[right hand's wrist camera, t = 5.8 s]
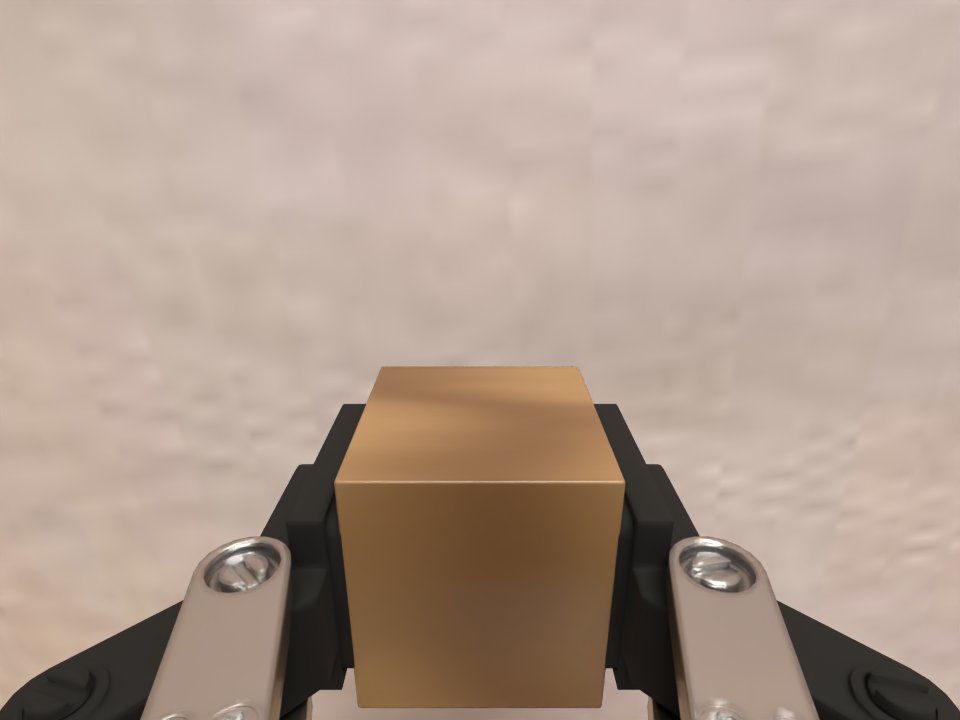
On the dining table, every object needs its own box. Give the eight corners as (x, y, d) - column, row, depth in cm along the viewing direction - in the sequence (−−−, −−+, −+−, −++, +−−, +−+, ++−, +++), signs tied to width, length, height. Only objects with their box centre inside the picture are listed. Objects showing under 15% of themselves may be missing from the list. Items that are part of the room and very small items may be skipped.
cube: (392, 541, 14) (357, 709, 10) (381, 365, 12) (332, 481, 8) (567, 541, 14) (601, 709, 10) (578, 365, 12) (626, 481, 8)
